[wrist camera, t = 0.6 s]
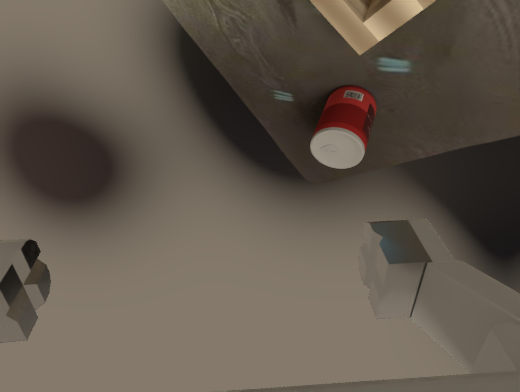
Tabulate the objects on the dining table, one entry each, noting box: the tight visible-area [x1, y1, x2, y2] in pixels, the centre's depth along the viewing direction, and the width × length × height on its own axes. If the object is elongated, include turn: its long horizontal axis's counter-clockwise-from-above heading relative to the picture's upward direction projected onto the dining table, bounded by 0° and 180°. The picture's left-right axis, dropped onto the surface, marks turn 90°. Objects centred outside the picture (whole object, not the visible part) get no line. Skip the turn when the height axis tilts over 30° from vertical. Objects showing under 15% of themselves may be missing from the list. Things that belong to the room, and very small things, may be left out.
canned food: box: [310, 86, 376, 169], centre depth 63 cm, size 8×8×11 cm
